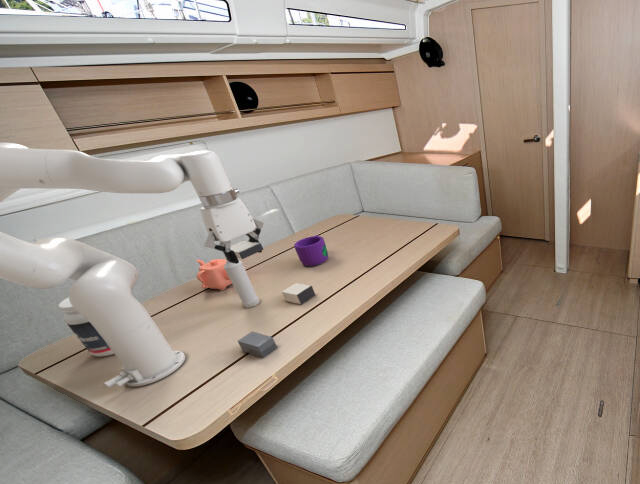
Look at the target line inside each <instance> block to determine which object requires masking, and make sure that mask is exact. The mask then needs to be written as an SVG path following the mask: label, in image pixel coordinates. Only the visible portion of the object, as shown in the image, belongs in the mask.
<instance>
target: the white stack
mask: <svg viewBox="0 0 640 484" xmlns="http://www.w3.org/2000/svg"><path fill="white" fill-rule="evenodd" d="M281 294H282V295H283V299H284V301H285V302H288V303H295V304H298V305H303V304H304V303H306V302H308V301H309V300H310V299H312V298H313V297H315V296H316V293H315V290H314V288H313V285H308V284H304V283H298V282H296V283H294V284H292V285H291V286H288V287H287V288H285V289H283V290H282V291H281Z"/></svg>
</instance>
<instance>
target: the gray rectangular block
mask: <svg viewBox="0 0 640 484" xmlns="http://www.w3.org/2000/svg"><path fill="white" fill-rule="evenodd" d="M237 343H238V345H239V346H240V348H241V350H242V352H244V353H248V354H250V355H254V356H256V357H260V358H266V357H267V356H268V355H270V354H271V353H272V352H273V351H275V350H276V349H278V345H277V343H276V341H275V339H274V337H273V336H271V335H266V334H262V333H260V332H256V331H250V332H249V333H247V334H245V335H244V336H243V337H241V338H240V339H237Z"/></svg>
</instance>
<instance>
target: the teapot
mask: <svg viewBox="0 0 640 484" xmlns="http://www.w3.org/2000/svg"><path fill="white" fill-rule="evenodd" d="M195 261H196V262H197V263H198V264H199V267H198V273H197V274H196V279H197V280H198V281H199V282H201V288H203V289H207V288H209V289H214V290H215V289H216V290H219V291H223V290H225V289H227V287H228V286H231V285H233V284H232V282H231V280H230V278H229V276H228V274H227V272H226V271H225V269H224V265H225V264H226V261H227V260H226V258H215V259H210V260H209V261H208V262H207V263H205V261H204V260H202V259H195Z"/></svg>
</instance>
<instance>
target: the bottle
mask: <svg viewBox="0 0 640 484" xmlns="http://www.w3.org/2000/svg"><path fill="white" fill-rule="evenodd" d="M217 245H220V241H217ZM222 253H223V255H224V257H225V258H224V259H226V260H227V258H226V256H225V254H224V252H223V251H222ZM238 261H239V263H237V264H235V263H231V262H229V261H228V260H227V261H226V264H225V265H224V269H225V271H226V272H227V274H228V276H229V278H230V280H231V282H232V284H231V285H232V286H233V288H234V290H235V291H236V293H237V295H238V297H239V299H240V301H241V302H240V303H241V305H242V306H243V308H245V309H249V308H253V307H255V306H257V305H258V304H260V302H261V301H260V298H259V295H257V293H256V291H255V289H254V287H253V284H252V282H251V280H250V278H249V275H248V273H247V270H246V268H245V266H244V264H243V261H242V260H239V259H238Z"/></svg>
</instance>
